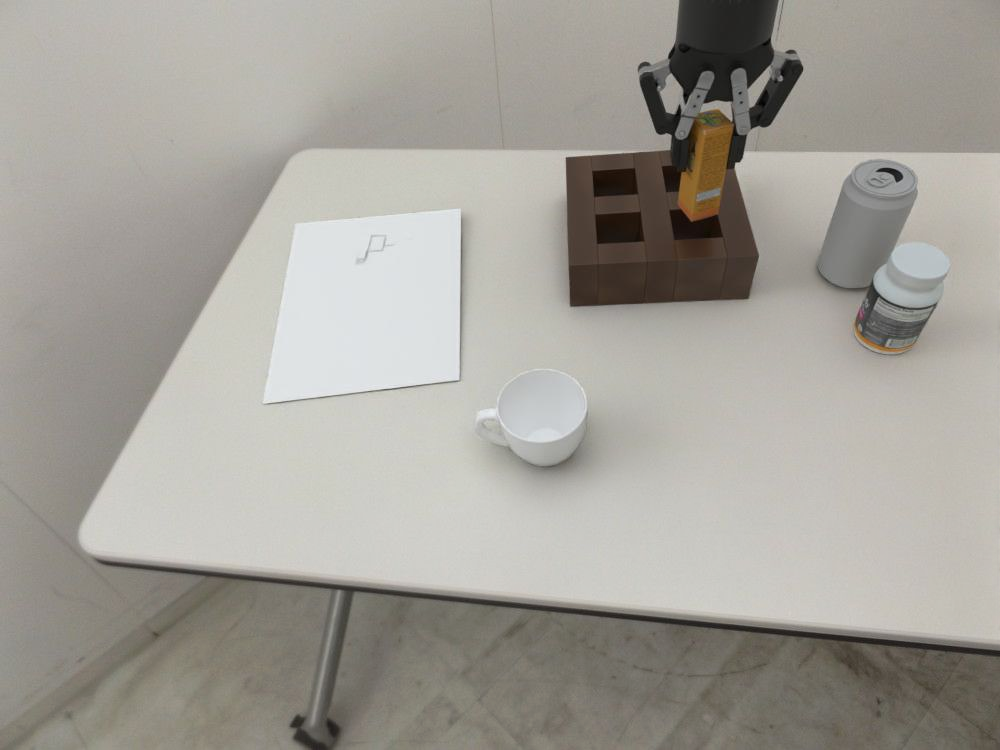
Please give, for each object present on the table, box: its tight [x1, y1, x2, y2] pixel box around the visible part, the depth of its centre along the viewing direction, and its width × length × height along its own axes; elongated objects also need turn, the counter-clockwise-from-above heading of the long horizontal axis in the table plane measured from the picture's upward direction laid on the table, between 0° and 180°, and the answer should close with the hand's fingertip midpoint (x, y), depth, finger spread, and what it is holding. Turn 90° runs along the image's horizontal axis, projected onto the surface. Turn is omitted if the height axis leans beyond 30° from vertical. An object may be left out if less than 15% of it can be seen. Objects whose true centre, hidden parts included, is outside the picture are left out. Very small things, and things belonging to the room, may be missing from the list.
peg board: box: [565, 149, 760, 307], centre depth 76 cm, size 19×19×6 cm
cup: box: [473, 368, 589, 467], centre depth 61 cm, size 8×10×7 cm
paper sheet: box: [262, 208, 462, 405], centre depth 78 cm, size 24×29×1 cm
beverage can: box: [816, 158, 919, 289], centre depth 68 cm, size 6×6×12 cm
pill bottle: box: [852, 241, 951, 355], centre depth 63 cm, size 6×6×10 cm
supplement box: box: [677, 108, 734, 222], centre depth 66 cm, size 3×3×10 cm
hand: (704, 164), depth 66 cm, fingers closed on supplement box, 4 cm apart
